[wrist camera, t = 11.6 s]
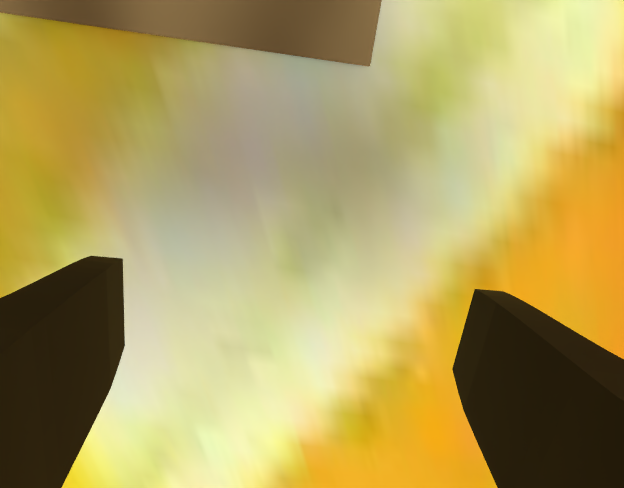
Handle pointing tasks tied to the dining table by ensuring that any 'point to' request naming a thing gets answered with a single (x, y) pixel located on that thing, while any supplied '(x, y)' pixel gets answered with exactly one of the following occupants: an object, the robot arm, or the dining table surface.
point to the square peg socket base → (231, 22)
